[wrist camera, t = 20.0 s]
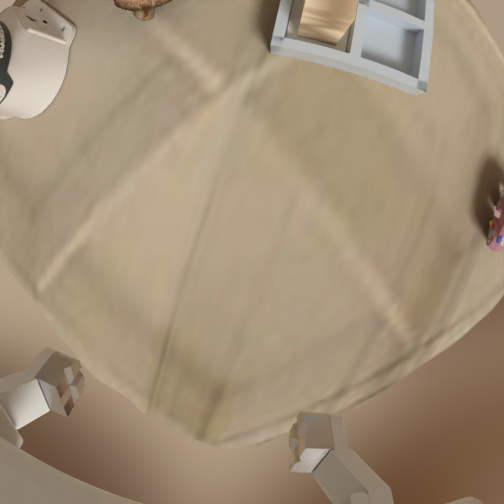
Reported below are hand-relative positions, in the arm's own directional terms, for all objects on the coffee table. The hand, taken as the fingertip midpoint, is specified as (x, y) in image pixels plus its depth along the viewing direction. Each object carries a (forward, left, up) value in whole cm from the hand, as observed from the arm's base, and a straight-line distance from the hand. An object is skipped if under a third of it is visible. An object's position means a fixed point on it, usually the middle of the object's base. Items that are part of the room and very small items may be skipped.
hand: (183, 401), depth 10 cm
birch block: (-14, +19, -27) cm, 36 cm away
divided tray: (-14, +25, -28) cm, 40 cm away
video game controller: (+19, +31, -29) cm, 46 cm away
